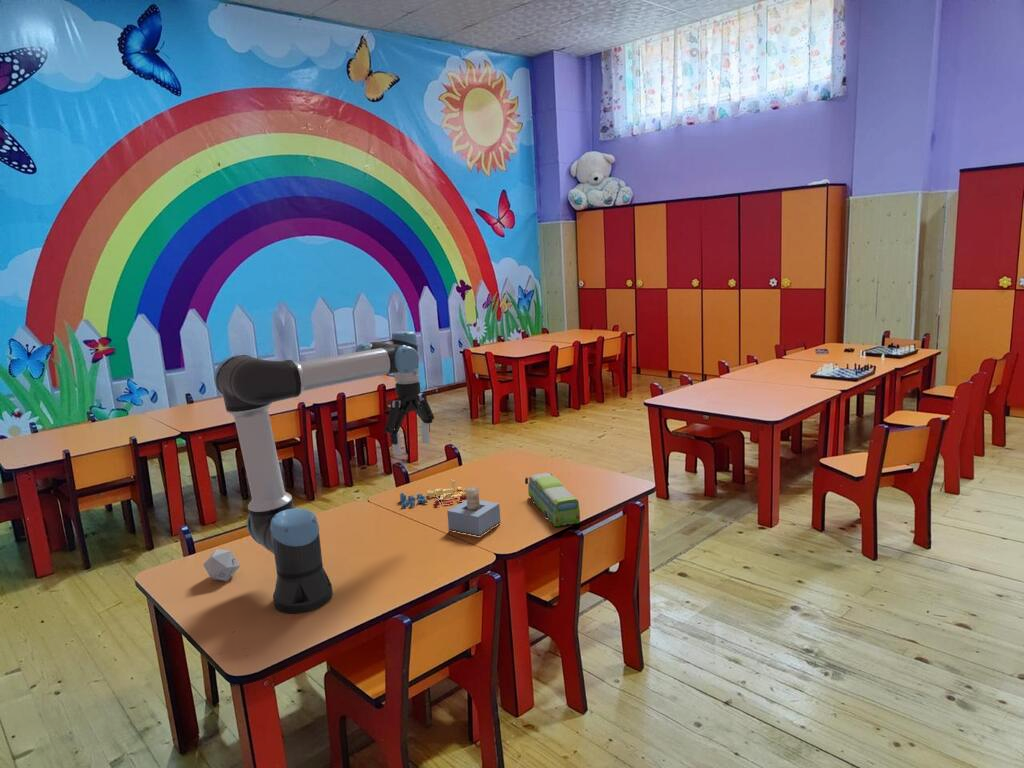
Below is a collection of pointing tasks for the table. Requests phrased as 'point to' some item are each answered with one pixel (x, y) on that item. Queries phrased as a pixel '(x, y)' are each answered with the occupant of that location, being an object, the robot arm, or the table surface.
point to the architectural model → (443, 492)
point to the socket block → (473, 518)
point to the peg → (472, 499)
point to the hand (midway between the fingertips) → (411, 448)
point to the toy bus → (553, 499)
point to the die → (221, 565)
